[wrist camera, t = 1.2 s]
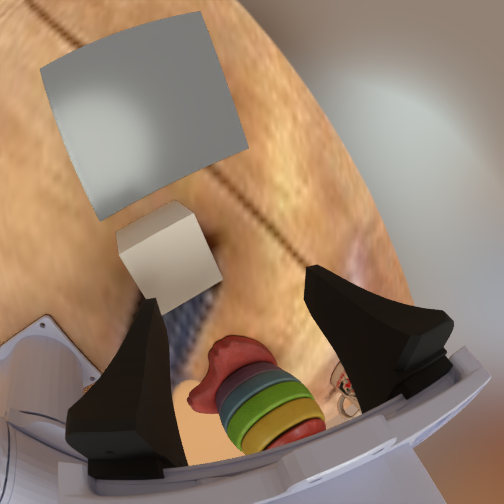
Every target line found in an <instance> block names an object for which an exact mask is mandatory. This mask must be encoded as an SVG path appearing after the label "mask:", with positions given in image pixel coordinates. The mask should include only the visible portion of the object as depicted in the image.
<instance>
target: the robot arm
mask: <svg viewBox="0 0 504 504" xmlns="http://www.w3.org/2000/svg"><path fill="white" fill-rule="evenodd" d="M304 301H305V303H306V305H307V308H308V310H309V312H310V314H311V316H312V317H313V319H314V320H315V322H316V323H317V325H318V326H319V328H320V329H321V331H322V332H323V334H324V335H325V337H326V338H327V340H328V341H329V343H330V344H331V346H332V347H333V349H334V350H335V352H336V354H337V356H338V358H339V360H340V362H341V364H342V366H343V368H344V370H345V372H346V374H347V376H348V379H349V381H350V383H351V385H352V388H353V390H354V393H355V395H356V398H357V400H358V403H359V406H360V409H361V412H362V415H359V416H357V417H355V418H353V419H351V420H348V421H346V422H344V423H342V424H339V425H337V426H334V427H332V428H330V429H327V430H325V431H322V432H319V433H317V434H314V435H311V436H309V437H306V438H303V439H300V440H297V441H294V442H291V443H288V444H285V445H282V446H279V447H275V448H272V449H268V450H265V451H261V452H257V453H253V454H249V455H245V456H241V457H237V458H232V459H227V460H223V461H217V462H212V463H206V464H200V465H193V466H188V463H187V460H186V457H185V453H184V449H183V446H182V442H181V438H180V434H179V430H178V426H177V421H176V416H175V411H174V406H173V401H172V394H171V382H170V358H169V344H168V336H167V329H166V326H165V324H164V321H163V318H162V315H161V312H160V309H159V306H158V303H157V300H156V297H155V298H150V299H144V300H143V301H142V302H141V304H140V307H139V309H138V312H137V314H136V316H135V319H134V321H133V323H132V325H131V327H130V329H129V331H128V333H127V335H126V337H125V339H124V341H123V343H122V345H121V347H120V348H119V350H118V352H117V353H116V355H115V357H114V358H113V360H112V361H111V363H110V364H109V366H108V367H107V368H106V370H105V371H104V372H103V374H102V375H101V373H100V372H99V371H98V370H97V369H96V368H95V367H94V366H93V365H92V363H91V362H90V361H89V360H88V359H87V358H86V357H85V356H84V355H83V354H82V353H81V352H80V351H79V350H78V349H77V348H76V346H75V345H74V344H73V343H72V342H71V341H70V340H69V339H68V337H67V336H66V335H65V334H64V333H63V332H62V330H61V329H60V328H59V327H58V325H57V324H56V323H55V322H54V321H53V319H52V318H51V317H50V316H48V315H45V316H43V317H41V318H40V319H38V320H37V321H35V322H34V323H32V324H31V325H29V326H28V327H26V328H25V329H24V330H22V331H21V332H19V333H18V334H16V335H15V336H14V337H12V338H11V339H9V340H8V341H7V342H5V343H4V344H2V345H1V346H0V504H447V503H446V502H445V500H444V499H443V497H442V495H441V494H440V492H439V490H438V489H437V487H436V486H435V484H434V482H433V481H432V479H431V477H430V476H429V474H428V473H427V471H426V469H425V468H424V466H423V465H422V463H421V461H420V460H419V458H418V457H417V455H416V453H415V452H414V450H413V449H412V448H414V447H415V446H417V445H418V444H420V443H421V442H422V441H424V440H425V439H426V438H428V437H429V436H430V435H432V434H433V433H434V432H435V431H437V430H438V429H439V428H441V427H442V426H443V425H444V424H445V423H447V422H448V421H449V420H450V419H452V418H453V417H454V416H455V415H456V414H457V413H459V412H460V411H461V410H462V409H463V408H464V407H465V406H467V405H468V404H469V402H470V401H471V400H472V399H473V398H474V397H475V396H476V395H477V394H478V393H479V392H480V390H481V389H482V388H483V387H484V386H485V385H486V384H487V382H488V381H489V380H490V379H491V375H490V373H489V372H488V371H487V370H486V369H485V368H484V366H483V365H482V364H481V363H480V362H479V361H478V360H477V359H476V358H475V356H474V355H473V354H472V353H471V352H470V351H469V350H468V349H467V348H466V347H465V346H464V347H462V348H461V349H459V350H458V351H457V352H456V353H454V354H453V355H452V356H451V357H450V358H449V359H448V358H447V357H446V356H445V355H446V353H447V351H446V350H445V349H444V345H445V343H446V342H447V340H448V338H449V336H450V334H451V333H452V330H453V327H454V321H453V320H452V319H451V318H450V317H449V316H448V315H447V314H446V313H445V312H444V311H442V310H435V309H426V308H420V307H415V306H411V305H406V304H403V303H399V302H396V301H392V300H389V299H386V298H384V297H381V296H379V295H376V294H374V293H371V292H369V291H367V290H365V289H363V288H361V287H358V286H357V285H355V284H353V283H351V282H349V281H347V280H345V279H343V278H341V277H340V276H338V275H336V274H334V273H332V272H331V271H329V270H327V269H325V268H323V267H321V266H319V265H313V266H309V267H306V276H305V289H304ZM41 323H44V324H45V325H42V324H41ZM91 377H94V378H91ZM94 382H95V384H94V385H93V386H92V387H91V388H90V389H89V390H88V391H87V392H86V393H85V394H84V389H83V388H85V387H87V386H89V385H90V384H92V383H94Z"/></svg>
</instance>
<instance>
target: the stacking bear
mask: <svg viewBox="0 0 504 504" xmlns="http://www.w3.org/2000/svg"><path fill="white" fill-rule="evenodd" d="M209 364H210V367H209V372H208V374H207V376H206V377H205V379H204V380H203V381H202V382H201V383H200V384H199V385H198V386H196V387H195V388H194V389H193V390H192V391H191V392H190V393H189V397H188V398H187V402H188V404H189V405H190V406H191V407H192V409H193V410H194V411H196V412H199V413H205V414H219V416H220V420H221V422H222V425H223V427H224V429H225V432H226V433H227V435H228V437H229V438H230V440H231V441H232V442H233V444H234V445H235V446H236V447H237V448H238V449H240V451H242V452H243V453H244V454H245V455H249V454H253V453H257V452H261V451H265V450H268V449H272V448H275V447H279V446H282V445H285V444H288V443H291V442H294V441H297V440H300V439H303V438H306V437H309V436H311V435H314V434H317V433H319V432H322V431H325V430H326V425H325V417H324V414H323V412H322V410H321V409H320V407H319V405H318V404H317V403H316V401H315V399H314V397H313V396H312V394H311V393H310V391H309V390H308V389H307V388H306V387H305V386H304V385H303V384H302V383H301V382H300V381H299V380H298V379H297V378H295V377H294V376H293V375H291V374H289V373H288V372H285V371H284V370H282V369H281V368H279V367H277V363H276V361H275V358H274V357H273V355H272V354H271V352H270V351H269V350H268V349H267V348H266V347H265V346H264V345H262V344H261V343H259V342H257V341H255V340H253V339H249V338H245V337H239V336H229V337H225V338H224V339H222V340H221V341H218V342H217V343H216V344H215V345H214V347H213V348H212V350H211V351H210V353H209Z"/></svg>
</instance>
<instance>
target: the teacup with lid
mask: <svg viewBox="0 0 504 504" xmlns="http://www.w3.org/2000/svg"><path fill="white" fill-rule="evenodd" d="M331 384H332V386H333V387H334V388H336V389H337V390H338V391H339V392H340V393H341V394H342V395H341V396H340V398H339V400H338V404H337V407H338V411H339V414H340V415H341V416H342V417H343V418H344V419H346V420H351V419H353V418H355V417H357V416H359V415H360V414H361V413H362V412H361V409H360V406H359V403H358V400H357V398H356V395H355V393H354V390H353V388H352V385H351V383H350V381H349V379H348V376H347V374H346V372H345V370H344V368H343V366H342V364H341V362H340V363H339V364H338V365H337V367H336V368H335V370H334V372H333V375H332V378H331ZM345 398H347V399H348V400H349V401H350V402H351V403H352V404H354V405H355V406H356V407H357V408H358V411H357V412H356V413H355V414H354V415H353V416H349V415H347V414H346V413H345V411H344V409H343V402H344V399H345Z"/></svg>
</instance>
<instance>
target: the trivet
mask: <svg viewBox="0 0 504 504" xmlns="http://www.w3.org/2000/svg"><path fill="white" fill-rule="evenodd" d="M40 72H41V76H42V80H43V83H44V86H45V90H46V93H47V96H48V100H49V103H50V106H51V109H52V112H53V115H54V118H55V120H56V123H57V126H58V129H59V131H60V134H61V137H62V139H63V142H64V144H65V147H66V149H67V152H68V154H69V157H70V159H71V161H72V164H73V166H74V168H75V171H76V173H77V175H78V177H79V180H80V182H81V184H82V186H83V188H84V190H85V192H86V194H87V197H88V199H89V201H90V203H91V205H92V207H93V209H94V211H95V213H96V215H97V217H98V219H99V220H100V221H102V220H104V219H105V218H107V217H109V216H111V215H112V214H114V213H116V212H118V211H119V210H121V209H123V208H125V207H127V206H128V205H130V204H132V203H134V202H136V201H137V200H139V199H141V198H143V197H145V196H147V195H149V194H151V193H153V192H155V191H156V190H158V189H160V188H162V187H164V186H166V185H168V184H170V183H172V182H174V181H176V180H179V179H181V178H183V177H185V176H187V175H189V174H191V173H193V172H195V171H198V170H200V169H202V168H204V167H206V166H208V165H211V164H213V163H215V162H217V161H220V160H222V159H224V158H227V157H229V156H231V155H234V154H236V153H239V152H241V151H243V150H246V149H248V148H249V147H248V143H247V140H246V137H245V134H244V131H243V128H242V125H241V123H240V120H239V117H238V114H237V111H236V108H235V105H234V102H233V99H232V96H231V93H230V91H229V88H228V85H227V82H226V79H225V76H224V74H223V71H222V68H221V65H220V62H219V60H218V57H217V54H216V51H215V49H214V46H213V43H212V41H211V38H210V35H209V33H208V30H207V27H206V25H205V22H204V19H203V17H202V14H201V12H200V11H198V12H192V13H187V14H182V15H177V16H173V17H169V18H164V19H160V20H157V21H153V22H149V23H146V24H142V25H139V26H136V27H133V28H130V29H127V30H124V31H121V32H118V33H115V34H112V35H110V36H107V37H105V38H102V39H100V40H97V41H95V42H92V43H90V44H88V45H85V46H83V47H81V48H79V49H77V50H75V51H72V52H70V53H68V54H66V55H64V56H62V57H60V58H59V59H57V60H55V61H53V62H51V63H49V64H47V65H46V66H44V67H42V68H40Z"/></svg>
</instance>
